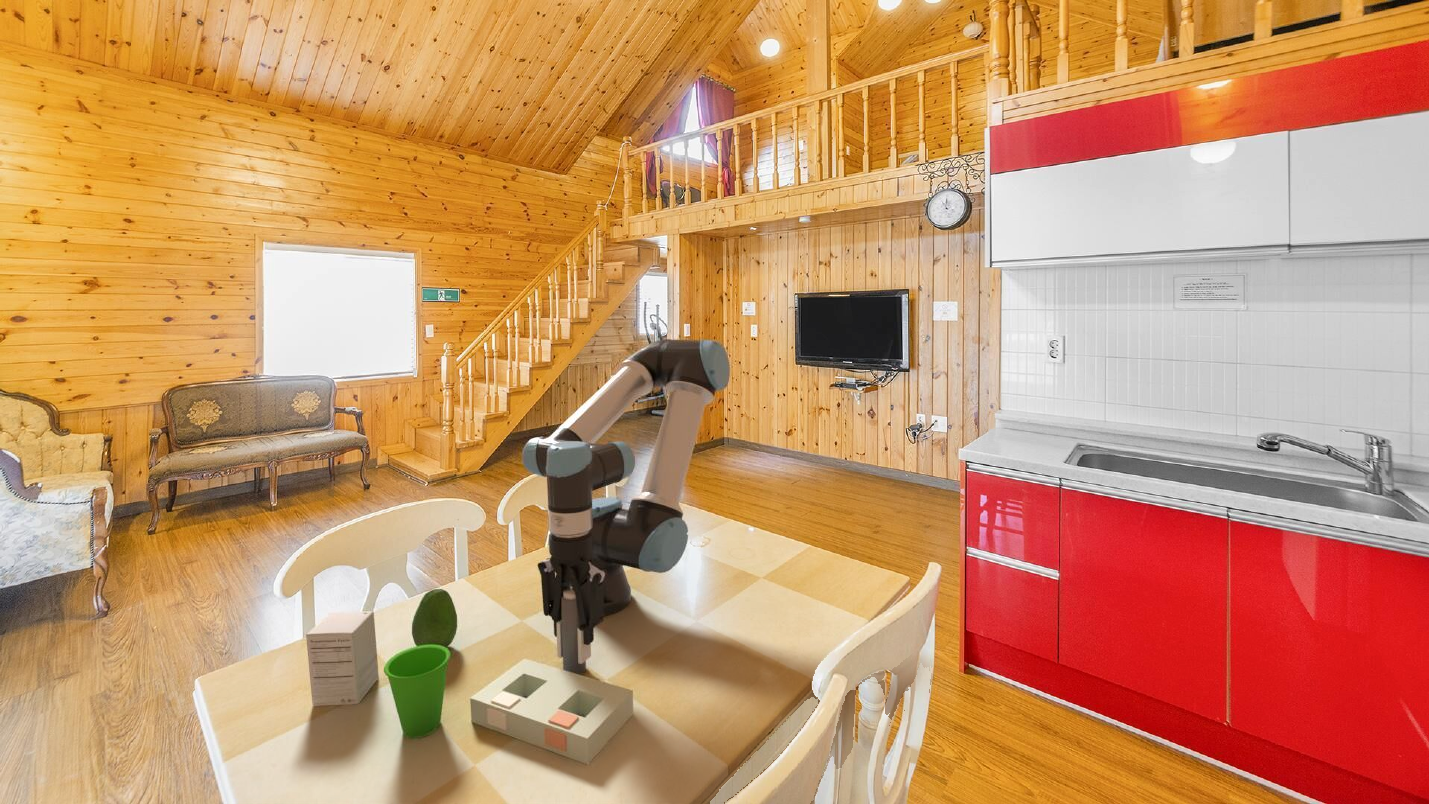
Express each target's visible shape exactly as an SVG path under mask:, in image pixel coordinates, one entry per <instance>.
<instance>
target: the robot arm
mask: <svg viewBox="0 0 1429 804" xmlns="http://www.w3.org/2000/svg"><path fill="white" fill-rule="evenodd" d="M730 369H731V368H730V360H729V355H728V352H727V350H726V348H725V347H724V345H723V344H722V343H720V341H718V340H708V339H704V338H702V339H669V338H668V339H666V338H665V339H660V340H656V341H653V342H650V343H649V344H647V345H645V346H643V347H641V348H640V349H638V350H636V351H634V352H633V353H632V354H630V355H629V356H627V358H626V359H624V360H623V361H622V362H621V363H620V364H619V366H618V368H617V372H616V374H614V375H613V376H612V377H611V378H610V379H609V380H608V381H607V382H606V383H605V384H604V385H603V386H601V388H599V389H598V390H597V391H596V392H595V393H594V394H593V395H592V396H591V397H589V399H588V400H587V401H585V402H584V403H583V404H582V405H581V406H579V408H578V409H577V410H576V411H574V413H572V415H570V416H569V417H568V419H566V420H565V421H564V422H563V423H561V425H560V426H558V427H557V428H556V430H554V431H553V432H552V433H550V435H548V436H547V437H546V436H538V437H534V438H530V439H529V440H528V441H527V442H526V443H525V445H524V447H523V449H522V456H521V460H522V464H523V467H524V468H525V470H526V471H527V472H529V473H530V474H533V475H537V476H540V477H542V478H543V477H544V478H546V487H547V489H546V490H547V513H548V514H547V516H548V518H547V519H548V531H549V532H550V533H549V534H548V548H549V549H548V550H549V551H548V552H549V554H550V555H549V556H550V557H547V558H546V559H544V560H542V561H540V562H538V563H537V569H538V571H539V574H540V583H541V595H542V597H541V598H542V606H543V607H542V608H543V614H544V615H543V616H546V617H548V616H549V617H551V620H552V621H553V635H554V637H555V638H556V646H557V650H556V652H557V658H559V659H563V647H562V610H561V596H563V591H564V590H565V589H567V588H569V587H572V590H573V591H575V595H576V600H577V606H578V611H579V616H580V622H581V626H580V627H578V628H577V633H578V663H580V664H582V663H584V662H585V661H587V660H589V659H590V658H591V656H592V654H591V653H592V651H591V650H592V643H593V642H594V637H595V635H594V632H595V631H594V628H595V627H597V626H598V625H599V624H601V623H602V622H603V621H604V617H605V616H608V615H611V614H615V613H618V612H620V611H622V610H624V609H625V608H626V607H627V606H629V604H630V603H631V601H632V589H631V586H630V583H629V582H628V581H629V580H628V577H627V574H626V571H625V569H624V567H628V568H631V569H632V568H633V569H638V570H641V571H643V572H645V573H649V572H650V573H651V572H652V573H656V574H657V573H659V574H663V573H664V574H665V573H667V572H669V571H670V570H672V569H673V568H674V567H675V566H676V565H677V564H678V563H679V561H681V559H682V557H683V555H684V552H685V551H686V547H687V544H688V540H689V539H688V538H689V534H688V532H689V529H688V528H689V527H688V524H687V523H686V521H685V520H683V515H684V512H683V510H682V508H681V506H680V501H681V498H682V497H681V496H682V493H683V489H684V486H685V481H686V479H687V474H688V472H689V467H690V463H691V460H692V457H693V456H692V455H693V453H694V450H695V444H696V441H697V438H698V434H699V430H700V426H701V423H702V419H703V416H704V412H705V408H706V406H707V405H709V404H711V403H712V402H714V399H715V394H716V393H717V392H721V391H724V390H725V389H726V388H727V387H728V385H729V381H730V375H731V370H730ZM664 387H665V390H666V391H667V393H668V400H667V402H666V407H665V410H664V413H663V417H662V421H661V423H660V428H659V431H658V435H657V437H656V441H655V444H654V448H653V451H652V454H651V456H650V457H651V458H650V461H649V463H648V468H647V471H646V475H645V479H644V481H643V485H642V488H641V491H640V493H639V494H638V495H636V496H635V497H633V498H631V501H630V504H629V508H628V509H627V508H626V509H625V508H623V505H624V504H623V502H622V500H621V499H620V498H618V497H610V496H609V497H598V498H593V492H594V491H597V490H599V489H601V488H605V487H607V486H611V485H613V484H617V483H620V482H621V481H623V480H625V479H627V478H628V477H629V476H631V475H632V474H633V472H634V470H635V466H636V455H635V454H634V451H633V449H632V448H631V446H629V445H628V444H627V443H625V442H623V441H614V442H613V441H609V442H607V443H604V444H603V443H600V444H599V443H596V442H597V441H598V440H599V439H601V437H602V436H603V434H605V433H606V432H607V431H608V430H609V429H610V428H611V427H612V425H614V424H615V423H616V422H617V421H618V420H619V419H620V418H621V416H622V415H623V414H625V412H627V410H628V409H629V408H630V407H632V405H633V404H634V403H635V402H636V401H637V400H638V399H639V398H640V397H643V396H646V395H648V394H649V393H651V392H652V391H653V390H654V389H658V388H664Z"/></svg>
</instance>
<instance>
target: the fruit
mask: <svg viewBox="0 0 1429 804" xmlns="http://www.w3.org/2000/svg"><path fill="white" fill-rule="evenodd" d="M411 622H412V623H411V635H412V636H411V637H412V639H413V642H414V645H415V647H416V646H422V645H440V646H444V647H446V648H447V649H448V647H449V646H450V645H451V644H452V643H453V641H454V639H455V637H456V633H457V631H458V614H457V610H456V607H455V604H454V602H453V598H452V596H451V595H450V593H449V592H448V591H447V590H445V589H443V588H435V589H431V590H429V591H428V592H426V593H425V594H424V595H423V596H422V598H421V601H420V602H419V605H418V606H417V609H416V611H415V614H414V615H413V620H412V621H411Z"/></svg>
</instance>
